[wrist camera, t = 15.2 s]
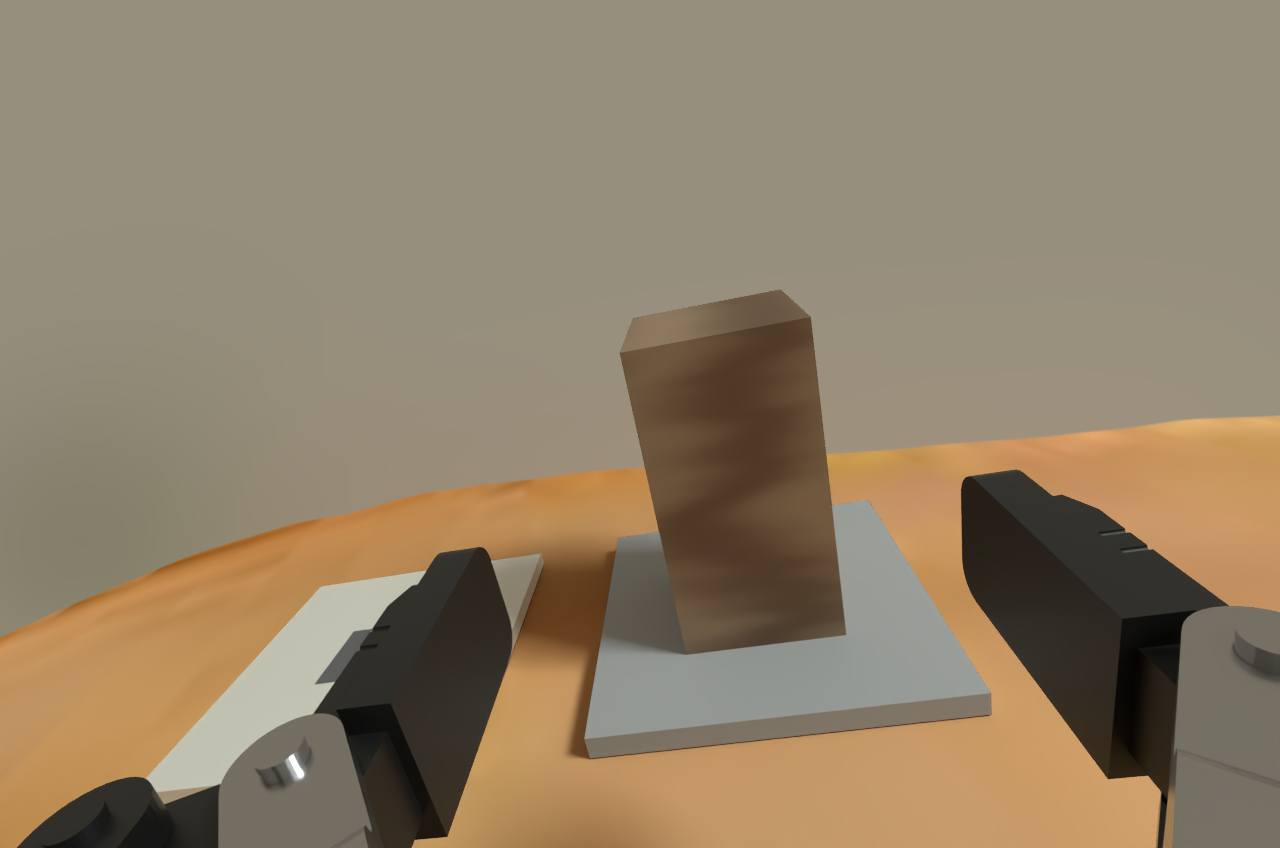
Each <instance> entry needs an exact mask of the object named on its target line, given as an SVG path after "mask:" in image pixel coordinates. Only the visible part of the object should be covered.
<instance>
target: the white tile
mask: <svg viewBox="0 0 1280 848" xmlns="http://www.w3.org/2000/svg"><path fill="white" fill-rule="evenodd" d="M491 562H492V565H493V568H494V571H495V574H496V578H497V581H498V584H499V587H500V590H501V593H502V596H503V599H504V602H505V606H506V609H507V612H508V615H509V618H510V622H511V628H512V651H513V648H514V646H515V643H516V640H517V637H518V635H519V632H520V629H521V626H522V623H523V621H524V618H525V615H526V612H527V610H528V607H529V604H530V601H531V599H532V596H533V593H534V590H535V587H536V585H537V582H538V579H539V576H540V574H541V571H542V568H543V565H544V561H543V558H542V555H541V553H540V554H533V555H527V556H520V557H513V558H507V559H500V560H494V561H491ZM425 572H426V571H421V572H414V573H408V574H401V575H395V576H388V577H381V578H375V579H368V580H362V581H355V582H348V583H342V584H335V585H329V586H322V587H320V588H319V589H318V591H317V592H316V593H315V594H314V595H313V596H312V597H311V598H310V599H309V600H308V601H307V603H306V604H305V605H304V606H303V607H302V608H301V609H300V610H299V611H298V612H297V614H296V615H295V616H294V617H293V618H292V619H291V620H290V621H289V622H288V623H287V624H286V626H285V627H284V628H283V629H282V630H281V631H280V632H279V633H278V634H277V635H276V637H275V638H274V639H273V640H272V641H271V642H270V643H269V644H268V645H267V646H266V647H265V649H264V650H263V651H262V652H261V653H260V654H259V655H258V656H257V657H256V658H255V660H254V661H253V662H252V663H251V664H250V665H249V666H248V667H247V668H246V669H245V670H244V672H243V673H242V674H241V675H240V676H239V677H238V678H237V679H236V680H235V681H234V683H233V684H232V685H231V686H230V687H229V688H228V689H227V690H226V691H225V692H224V694H223V695H222V696H221V697H220V698H219V699H218V700H217V701H216V702H215V703H214V704H213V706H212V707H211V708H210V709H209V710H208V711H207V712H206V713H205V714H204V715H203V717H202V718H201V719H200V720H199V721H198V722H197V723H196V724H195V725H194V726H193V727H192V729H191V730H190V731H189V732H188V733H187V734H186V735H185V736H184V737H183V738H182V740H181V741H180V742H179V743H178V744H177V745H176V746H175V747H174V748H173V749H172V750H171V752H170V753H169V754H168V755H167V756H166V757H165V758H164V759H163V760H162V761H161V763H160V764H159V765H158V766H157V767H156V768H155V769H154V770H153V771H152V772H151V773H150V775H149V776H148V777H147V778H146V779H147V780H148V781H149V782H150V783H151V784H152V786H153V787H154V789H155V790H156V792H157V794H158V795H159V797H160V798H161V800H162V802H163V803H164V804H167V803H169V802H172V801H175V800H177V799H180V798H183V797H186V796H188V795H191V794H194V793H197V792H199V791H202V790H205V789H207V788H210V787H213V786H216V785H218V784H221V782H222V780H223V778H224V776H225V774H226V772H227V771H228V769H229V768H230V767H231V765H232V764H233V763H234V761H235V760H236V759H237V758H238V757H239V756H240V755H241V754H242V753H243V752H244V751H245V750H246V749H247V748H248V747H249V746H250V745H252V744H253V743H254V742H255V741H257V740H258V739H259V738H261V737H262V736H263V735H265V734H266V733H268V732H269V731H271V730H273V729H275V728H276V727H278V726H280V725H282V724H284V723H286V722H288V721H291V720H293V719H296V718H299V717H302V716H306V715H311V714H313V713H314V712H315V710H316V709H317V707H318V706H319V705H320V703H321V702H322V700H323V699H324V697H325V696H326V694H327V693H328V692H329V690H330V689H331V687H332V686H333V684H334V683H335V681H336V680H337V679H338V677H339V676H340V674H341V673H342V671H343V670H344V668H345V667H346V665H347V664H348V663H349V661H350V660H351V658H352V657H353V655H354V654H355V652H356V651H360V645H361V644H362V642H363V641H364V639H365V638H366V637H367V635H368V634H369V632H373V626H374V625H375V624H376V622H377V621H378V619H379V618H380V616H381V615H382V613H383V612H384V610H385V609H386V608H387V606H388V605H389V604H390V603H392V602H393V601H394V600H395V599H396V598H398V597H399V596H400V595H401V594H402V593H404V592H405V591H406V590H407V589H408V588H410V587H411V586H412V585H418V583H419V582H420V580H421V579H422V577H423V575H424V574H425ZM512 651H511V654H512ZM510 657H511V656H510ZM509 660H510V659H509Z"/></svg>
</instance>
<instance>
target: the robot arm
mask: <svg viewBox="0 0 1280 848" xmlns="http://www.w3.org/2000/svg"><path fill="white" fill-rule="evenodd" d="M961 514H962V561H963V569H964V574H965V578H966V581H967V584H968V587H969V589H970V591H971V594H972V596H973V597H974V599H975V601H976V602H977V603H978V605H979V606H980V607H981V609H982V610H983V611H984V613H985V614H986V615H987V617H988V618H989V619H990V621H991V622H992V624H993V625H994V626H995V628H996V629H997V630H998V632H999V633H1000V634H1001V636H1002V637H1003V638H1004V640H1005V641H1006V642H1007V644H1008V645H1009V646H1010V648H1011V649H1012V650H1013V652H1014V653H1015V654H1016V656H1017V657H1018V659H1019V660H1020V661H1021V663H1022V664H1023V665H1024V667H1025V668H1026V669H1027V671H1028V672H1029V673H1030V675H1031V676H1032V677H1033V679H1034V680H1035V681H1036V683H1037V684H1038V685H1039V687H1040V688H1041V689H1042V691H1043V692H1044V693H1045V695H1046V696H1047V698H1048V699H1049V700H1050V702H1051V703H1052V704H1053V706H1054V707H1055V708H1056V710H1057V711H1058V712H1059V714H1060V715H1061V716H1062V718H1063V719H1064V720H1065V722H1066V723H1067V724H1068V726H1069V727H1070V728H1071V730H1072V731H1073V732H1074V734H1075V735H1076V737H1077V738H1078V739H1079V741H1080V742H1081V743H1082V745H1083V746H1084V747H1085V749H1086V750H1087V751H1088V753H1089V754H1090V755H1091V757H1092V758H1093V759H1094V761H1095V762H1096V763H1097V765H1098V766H1099V767H1100V769H1101V770H1102V772H1103V773H1104V774H1105V776H1106V777H1107V778H1108V779H1115V778H1126V777H1137V776H1149V777H1150V778H1151V780H1152V781H1153V782H1154V783H1155V785H1156V786H1157V787H1158V788H1159V789H1160V791H1161V796H1160V803H1159V811H1158V824H1157V836H1156V848H1280V612H1275V611H1271V610H1266V609H1260V608H1254V607H1243V606H1229V605H1227V604H1226V603H1225V602H1223V601H1222V600H1220V599H1219V598H1218V597H1216V596H1215V595H1214V594H1212V593H1211V592H1210V591H1208V590H1207V589H1206V588H1204V587H1203V586H1202V585H1200V584H1199V583H1198V582H1196V581H1195V580H1194V579H1192V578H1191V577H1189V576H1188V575H1187V574H1185V573H1184V572H1183V571H1181V570H1180V569H1179V568H1177V567H1176V566H1175V565H1173V564H1172V563H1171V562H1169V561H1168V560H1167V559H1165V558H1164V557H1163V556H1161V555H1160V554H1158V553H1157V552H1156V551H1154V550H1153V549H1152V550H1149V549H1148V548H1147V545H1146V544H1145V543H1144V542H1142V541H1141V540H1140V539H1138V538H1137V537H1136V536H1134V535H1133V534H1131V533H1126V532H1125V528H1123V527H1122V526H1121V525H1119V524H1118V523H1117V522H1115V521H1114V520H1113V519H1111V518H1110V517H1109V516H1107V515H1106V514H1105V513H1103V512H1102V511H1100V510H1099V509H1097V508H1095V507H1092V506H1089V505H1087V504H1084V503H1082V502H1079V501H1077V500H1074V499H1072V498H1069V497H1066V496H1064V495H1057V496H1052V495H1051V494H1049V493H1048V492H1047V491H1046V490H1044V489H1043V488H1042V487H1041V486H1039V485H1038V484H1037V483H1036V482H1034V481H1033V480H1032V479H1030V478H1029V477H1028V476H1027V475H1025V474H1024V473H1023V472H1021V471H1019V470H1009V471H1003V472H996V473H989V474H982V475H975V476H969V477H966V478H965V479H964V480H963V483H962V488H961ZM511 651H512V628H511V622H510V618H509V615H508V612H507V609H506V606H505V602H504V599H503V596H502V593H501V590H500V587H499V584H498V581H497V578H496V574H495V571H494V568H493V565H492V562H491V559H490V556H489V554H488V553H487V551H486V550H485V549H484V548H482V547H477V548H471V549H464V550H457V551H450V552H443V553H439V554H438V555H437V556H436V557H435V559H434V560H433V562H432V563H431V565H430V566H429V568H428V569H427V571H426V572H425V574H424V575H423V577H422V579H421V580H420V582H419V583H418V585H412V586H411V587H410V588H408V589H407V590H406V591H405V592H404V593H402V594H401V595H400V596H399V597H398V598H396V599H395V600H394V601H393V602H392V603H390V604H389V605H388V606H387V608H386V609H385V610H384V612H383V613H382V615H381V616H380V618H379V619H378V621H377V622H376V624H375V625H374V626H373V632H369V634H368V635H367V637H366V638H365V639H364V641H363V642H362V644H361V645H360V651H356V652H355V654H354V655H353V657H352V658H351V660H350V661H349V663H348V664H347V665H346V667H345V668H344V670H343V671H342V673H341V674H340V676H339V677H338V679H337V680H336V681H335V683H334V684H333V686H332V687H331V689H330V690H329V692H328V693H327V694H326V696H325V697H324V699H323V700H322V702H321V703H320V705H319V706H318V707H317V709H316V710H315V712H314V713H313V714H311V715H306V716H302V717H299V718H296V719H293V720H291V721H288V722H286V723H284V724H282V725H280V726H278V727H276V728H275V729H273V730H271V731H269V732H268V733H266V734H265V735H263V736H262V737H261V738H259V739H258V740H257V741H255V742H254V743H253V744H252V745H250V746H249V747H248V748H247V749H246V750H245V751H244V752H243V753H242V754H241V755H240V756H239V757H238V758H237V759H236V760H235V761H234V763H233V764H232V765H231V767H230V768H229V769H228V771H227V772H226V774H225V776H224V778H223V780H222V782H221V784H218V785H216V786H213V787H210V788H207V789H205V790H202V791H199V792H197V793H194V794H191V795H188V796H186V797H183V798H180V799H177V800H175V801H172V802H169V803H167V804H164V803H163V802H162V800H161V798H160V797H159V795H158V794H157V792H156V790H155V789H154V787H153V786H152V784H151V783H150V782H149V781H148V780H147V779H144V778H141V777H129V778H124V779H119V780H116V781H113V782H110V783H107V784H105V785H102V786H100V787H98V788H95V789H93V790H92V791H90V792H88V793H86V794H84V795H82V796H80V797H79V798H77V799H75V800H74V801H72V802H70V803H69V804H67V805H66V806H64V807H63V808H61V809H60V810H58V811H57V812H56V813H55V814H53V815H52V816H51V817H49V818H48V819H47V820H45V821H44V822H43V823H42V824H41V825H40V826H38V827H37V828H36V829H35V830H34V831H33V832H32V833H31V834H30V835H29V836H28V837H27V838H26V839H25V840H24V841H23V842H22V843H21V844H20V845H19V846H18V847H17V848H412V845H413V843H414V840H418V839H429V838H440V837H447V836H448V833H449V830H450V828H451V825H452V822H453V819H454V816H455V813H456V810H457V808H458V805H459V802H460V799H461V796H462V793H463V790H464V788H465V785H466V782H467V779H468V776H469V773H470V770H471V768H472V765H473V762H474V759H475V756H476V753H477V751H478V748H479V745H480V742H481V739H482V736H483V733H484V731H485V728H486V725H487V722H488V719H489V716H490V713H491V711H492V708H493V705H494V702H495V699H496V696H497V693H498V691H499V688H500V685H501V682H502V679H503V676H504V673H505V671H506V668H507V665H508V662H509V659H510V656H511Z"/></svg>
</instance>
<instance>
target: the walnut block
mask: <svg viewBox="0 0 1280 848" xmlns="http://www.w3.org/2000/svg"><path fill="white" fill-rule="evenodd" d="M620 356H621V360H622V365H623V370H624V374H625V379H626V383H627V388H628V392H629V397H630V401H631V406H632V411H633V415H634V419H635V424H636V429H637V433H638V438H639V442H640V447H641V451H642V455H643V460H644V465H645V470H646V474H647V479H648V483H649V488H650V492H651V497H652V501H653V506H654V511H655V515H656V520H657V524H658V529H659V533H660V538H661V542H662V547H663V551H664V556H665V560H666V565H667V570H668V574H669V579H670V583H671V588H672V592H673V597H674V601H675V606H676V610H677V615H678V620H679V624H680V629H681V633H682V638H683V642H684V647H685V651H686V655H690V654H698V653H706V652H714V651H722V650H730V649H738V648H746V647H754V646H763V645H771V644H779V643H787V642H795V641H803V640H811V639H819V638H827V637H835V636H843V635H846V626H845V618H844V609H843V600H842V591H841V582H840V573H839V564H838V555H837V546H836V538H835V529H834V520H833V511H832V502H831V493H830V484H829V475H828V467H827V458H826V449H825V440H824V431H823V423H822V413H821V405H820V396H819V388H818V378H817V370H816V360H815V351H814V342H813V334H812V325H811V317H810V316H809V315H808V314H807V313H806V312H804V310H802V309H801V308H800V307H799V306H798V305H797V304H796V303H795V302H794V301H793V300H791V299H790V298H789V297H788V296H787V295H786V294H785V293H784V292H783V291H782V290H775V291H770V292H765V293H760V294H755V295H750V296H745V297H740V298H734V299H729V300H724V301H719V302H714V303H709V304H703V305H698V306H693V307H688V308H683V309H678V310H673V311H667V312H663V313H658V314H652V315H647V316H642V317H637V318H633V320H632V323H631V325H630V327H629V330H628V333H627V335H626V338H625V341H624V343H623V346H622V348H621V351H620Z"/></svg>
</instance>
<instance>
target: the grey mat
mask: <svg viewBox="0 0 1280 848" xmlns="http://www.w3.org/2000/svg"><path fill="white" fill-rule="evenodd" d="M832 511H833V520H834V529H835V538H836V546H837V555H838V564H839V573H840V582H841V591H842V600H843V609H844V618H845V626H846V635H843V636H835V637H827V638H819V639H811V640H803V641H795V642H787V643H779V644H771V645H763V646H754V647H746V648H738V649H730V650H722V651H714V652H706V653H698V654H690V655H686V651H685V647H684V642H683V638H682V633H681V629H680V624H679V620H678V615H677V610H676V606H675V601H674V597H673V592H672V588H671V583H670V579H669V574H668V570H667V565H666V560H665V556H664V551H663V547H662V542H661V538H660V533H659V532H654V533H647V534H641V535H634V536H628V537H621V538H618V542H617V548H616V554H615V560H614V566H613V572H612V578H611V583H610V589H609V595H608V601H607V607H606V613H605V619H604V625H603V631H602V636H601V642H600V648H599V654H598V660H597V666H596V672H595V678H594V684H593V690H592V695H591V701H590V707H589V713H588V719H587V725H586V731H585V737H584V740H585V744H586V747H587V750H588V754H589V757H590V758H599V757H608V756H617V755H626V754H636V753H645V752H654V751H663V750H672V749H681V748H691V747H700V746H709V745H718V744H727V743H736V742H745V741H755V740H764V739H773V738H782V737H791V736H800V735H810V734H819V733H828V732H837V731H846V730H855V729H865V728H874V727H883V726H892V725H901V724H910V723H920V722H929V721H938V720H947V719H956V718H965V717H975V716H984V715H992V713H991V692H990V691H989V689H988V687H987V686H986V684H985V683H984V681H983V680H982V678H981V676H980V675H979V673H978V672H977V670H976V669H975V667H974V665H973V664H972V662H971V661H970V659H969V658H968V656H967V654H966V653H965V651H964V650H963V648H962V647H961V645H960V643H959V642H958V640H957V639H956V637H955V636H954V634H953V632H952V631H951V629H950V628H949V626H948V625H947V623H946V621H945V620H944V618H943V617H942V615H941V614H940V612H939V610H938V609H937V607H936V606H935V604H934V603H933V601H932V599H931V598H930V596H929V595H928V593H927V592H926V590H925V588H924V587H923V585H922V584H921V582H920V581H919V579H918V577H917V576H916V574H915V573H914V571H913V570H912V568H911V566H910V565H909V563H908V562H907V560H906V559H905V557H904V555H903V554H902V552H901V551H900V549H899V548H898V546H897V544H896V543H895V541H894V540H893V538H892V537H891V535H890V533H889V532H888V530H887V529H886V527H885V526H884V524H883V522H882V521H881V519H880V518H879V516H878V515H877V513H876V511H875V510H874V508H873V507H872V505H871V504H870V502H869V500H864V501H858V502H851V503H844V504H838V505H832Z"/></svg>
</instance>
